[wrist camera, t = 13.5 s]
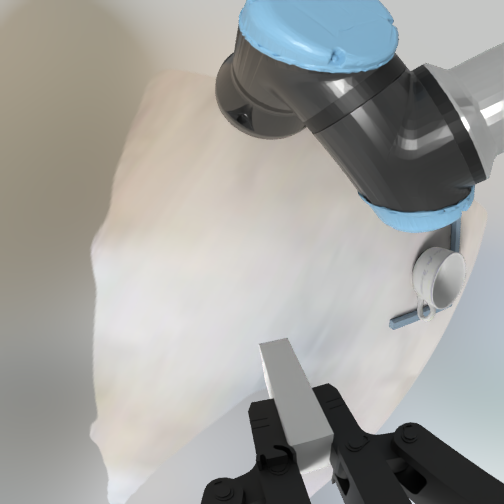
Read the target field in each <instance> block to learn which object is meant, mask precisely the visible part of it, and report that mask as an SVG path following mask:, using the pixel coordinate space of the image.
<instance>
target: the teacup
mask: <svg viewBox="0 0 504 504" xmlns="http://www.w3.org/2000/svg"><path fill="white" fill-rule="evenodd" d="M465 276H466V263H465V260H464V257H463V256H462V254H460V253H458V252H454V251H451V250H448V249H445V248H441V247H432V248H429V249H427V250H426V251H425V252H424V253H423V254H422V255H421V256H420V257H419V258H418V260H417V262H416V264H415V266H414V269H413V278H412V281H413V287H414V290H415V292H416V293H417V294H418V296H417V299H418V306H417V314H418V317H419V318H420V320H422V321H424V322H428V321H431V320H432V319H433V318H434V316H435V313H436V308H437V309H445V308H447V307H449V306H450V305H451V304H452V303H453V302H454V301H455V300H456V298H457V297H458V295H459V293H460V292H461V289H462V287H463V284H464V280H465ZM424 300H425V301H426V302H427V303H428V305H429V307H430V313H429V315H428V316H424V315H423V303H424Z"/></svg>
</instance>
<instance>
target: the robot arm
mask: <svg viewBox="0 0 504 504" xmlns="http://www.w3.org/2000/svg"><path fill="white" fill-rule="evenodd" d="M393 22H394V20H393V18H392V16H391V15H390V13H389V12H388V10H387V9H386V8H385V7H384V5H383V4H382V3H381V2H380V1H379V0H246V3H245V5H244V8H243V9H242V10H241V12H240V15H239V26H238V31H237V37H236V44H235V50H234V53H232V54H231V55H230V56H229V57H228V58H227V59H226V60H225V61H224V63H223V64H222V66H221V67H220V70H219V72H218V74H217V78H216V88H215V93H216V100H217V103H218V106H219V108H220V110H221V112H222V114H223V115H224V117H225V118H226V119H227V120H228V121H229V122H230V123H231V124H232V125H233V126H234V127H236V128H237V129H238V130H240V131H242V132H244V133H245V134H248V135H250V136H253V137H257V138H261V139H281V138H286V137H289V136H292V135H294V134H296V133H298V132H300V131H301V130H303V129H305V128H306V127H308V129H309V130H310V131H311V132H312V133H313V135H314V136H315V137H316V138H317V139H318V140H319V142H320V143H321V144H322V145H323V146H324V148H325V149H326V150H327V151H328V153H329V154H330V155H331V156H332V157H333V159H334V160H335V161H336V162H337V164H338V165H339V166H340V168H341V169H342V170H343V171H344V173H345V174H346V175H347V177H348V178H349V179H350V181H351V182H352V183H353V185H354V186H355V187H356V189H357V190H358V194H359V196H360V197H361V198H362V199H363V200H364V201H365V202H366V203H367V204H369V205H370V207H371V208H372V209H373V210H374V212H375V213H376V214H377V216H378V217H379V218H380V219H381V220H382V221H383V222H384V223H385V224H387V225H389V226H391V227H393V228H394V229H397V230H399V231H404V232H411V233H420V232H428V231H433V230H437V229H440V228H443V227H445V226H447V225H449V224H451V223H453V222H454V221H456V220H457V219H459V218H460V217H461V214H462V212H461V211H467V210H468V208H469V207H470V206H471V204H472V202H473V199H474V188H475V184H477V183H479V182H482V181H484V180H486V179H488V178H489V176H490V172H491V169H492V165H493V162H494V159H495V158H496V156H497V155H499V154H501V153H503V152H504V43H502V44H500V45H497V46H495V47H493V48H491V49H489V50H487V51H485V52H483V53H481V54H479V55H477V56H475V57H473V58H471V59H469V60H467V61H465V62H463V63H461V64H459V65H458V66H455V67H454V68H452V69H448V70H446V69H442V68H439V67H436V66H433V65H429V64H427V63H426V64H423V65H421V66H420V67H418V68H416V69H414V70H413V71H409V69H408V68H407V67H406V66H405V65H404V63H403V62H402V61H401V59H400V58H399V57H398V56H397V55H396V53H395V51H396V48H397V46H398V40H399V39H398V31H397V28H396V27H394V26H393V25H392V23H393ZM259 347H260V353H261V359H262V365H263V371H264V377H265V382H266V386H267V389H268V393H269V396H270V399H268V400H263V401H258V402H252V403H251V405H250V408H249V411H248V413H249V418H250V424H251V428H252V434H253V439H254V444H255V449H256V454H257V455H256V464H255V466H254V467H253V469H252V470H250V472H248V473H246V474H244V475H242V476H240V477H237V478H235V479H231V478H218V479H215V480H213V481H211V482H210V483H209V484H207V486H206V488H205V490H204V494H203V497H202V501H201V504H311V502H310V499H309V496H308V493H307V491H306V488H305V485H304V482H303V479H302V476H301V475H302V474H306V473H310V472H313V471H317V470H320V469H323V468H327V467H329V465H330V463H331V465H332V467H333V475H332V484H333V483H335V482H336V484H337V486H338V488H339V491H340V493H341V496H342V498H343V500H344V503H345V504H412V503H411V501H410V500H409V498H410V499H411V500H412V501H413V502H414V503H415V504H504V484H503V483H502V482H500V481H499V480H497V479H496V478H494V477H493V476H491V475H490V474H488V473H487V472H485V471H484V470H483V469H481V468H479V467H478V466H477V465H475V464H474V463H472V462H471V461H470V460H468V459H467V458H465V457H464V456H462V455H461V454H459V453H458V452H457V451H455V450H454V449H452V448H451V447H450V446H448V445H447V444H446V443H444V442H443V441H441V440H440V439H439V438H437V437H436V436H435V435H433V434H432V433H431V432H429V431H428V430H426V429H425V428H424V427H422V426H421V425H419V424H417V423H411V422H410V423H405V424H403V425H401V426H399V427H398V428H397V429H396V431H395V432H393V433H388V434H381V435H373V434H369V433H366V432H364V431H363V430H362V429H361V428H360V427H359V425H358V424H357V422H356V420H355V419H354V417H353V415H352V413H351V412H350V410H349V408H348V407H347V405H346V404H345V402H344V400H343V398H342V397H341V395H340V393H339V392H338V390H337V389H336V388H335V387H333V386H332V385H330V384H329V383H328V384H324V385H321V386H317V387H314V388H311V386H310V384H309V382H308V380H307V378H306V375H305V373H304V371H303V369H302V367H301V365H300V363H299V361H298V359H297V357H296V355H295V353H294V351H293V349H292V346H291V344H290V342H289V340H288V338H285V339H280V340H276V341H271V342H266V343H261V344H259Z"/></svg>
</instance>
